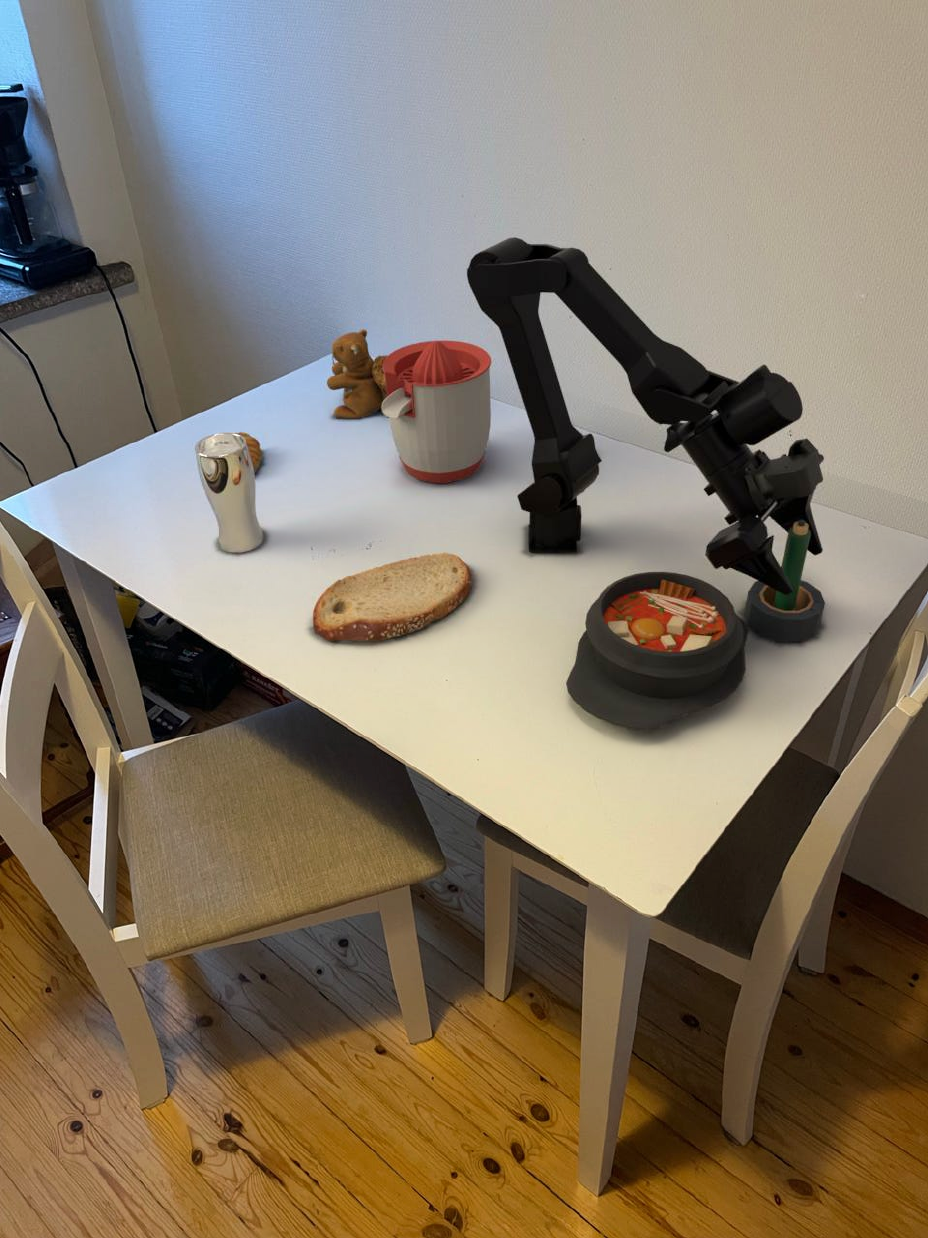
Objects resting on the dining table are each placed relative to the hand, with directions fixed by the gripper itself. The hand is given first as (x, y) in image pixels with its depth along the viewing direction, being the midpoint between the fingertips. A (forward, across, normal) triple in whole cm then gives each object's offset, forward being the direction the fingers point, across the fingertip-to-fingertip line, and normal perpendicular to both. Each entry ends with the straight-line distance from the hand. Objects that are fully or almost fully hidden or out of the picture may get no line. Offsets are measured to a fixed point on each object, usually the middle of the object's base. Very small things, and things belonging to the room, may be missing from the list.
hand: (804, 572), depth 109 cm
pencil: (+4, 0, +6) cm, 8 cm away
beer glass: (-44, -23, +55) cm, 74 cm away
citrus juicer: (-36, +8, +47) cm, 60 cm away
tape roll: (+4, 0, +6) cm, 8 cm away
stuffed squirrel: (-52, +18, +63) cm, 83 cm away
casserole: (-1, -16, +12) cm, 20 cm away
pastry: (-55, -8, +66) cm, 87 cm away
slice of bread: (-25, -23, +36) cm, 49 cm away
